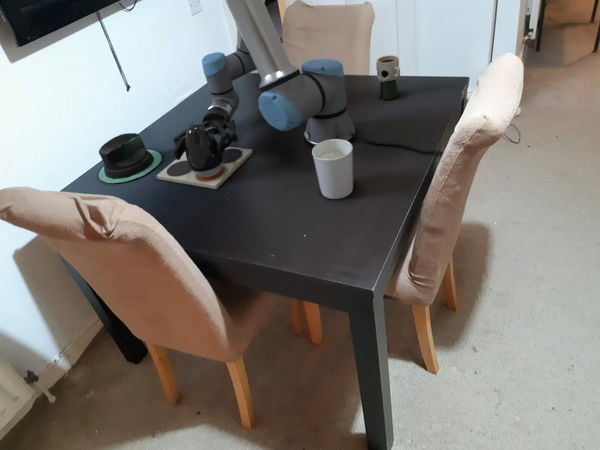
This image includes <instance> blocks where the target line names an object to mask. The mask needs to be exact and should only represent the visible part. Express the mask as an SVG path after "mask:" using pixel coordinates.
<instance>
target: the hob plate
mask: <svg viewBox="0 0 600 450" xmlns="http://www.w3.org/2000/svg"><path fill="white" fill-rule="evenodd" d="M253 154H254V152H253V149H252V148H251V149H250V148H242V147H234V146H229V147H228V148H226V149H225V151H224V153H223V156H224V160H223V167H222V169H221V171H220V172H219V173H218V174H216V175H214V176H212V177H207V178H204V177H199V176H197V175H196V174H194V172H193V171H192V170H191V169H190V168H189V166H188V163H187V158H186V152H185V151H184V153H183V155H182V156H181V158H180V160H177V159H175V160H173V161H172V162H171V163H169V164H168V165H167V166H166V167H165V168H164V169H162V170H161V171H160V172H158V174H156V175H155V177H156V179H157V180H162V181H168V182H173V183H177V184H184V185H191V186H197V187H200V188H201V187H202V188H206V189H212V190H217V189H219V187H221V185H222V184H223V183H224V182H225V181H227V179H228V178H230V177H231V175H232V174H233V173H234V172H235V171H237V169H238V168H240V166H241V165H242V164H244V162H245V161H246V160H248V158H250V156H251V155H253Z"/></svg>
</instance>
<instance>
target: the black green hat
mask: <svg viewBox="0 0 600 450" xmlns="http://www.w3.org/2000/svg"><path fill="white" fill-rule="evenodd" d="M98 155H99V156H100V158H101V160H102V163H103V164H104V166H103V167H102V168H101V169H100V170H99V172H98V178H99V180H100V181H102V182H104V183H107V184H117V183H125V182H128V181H129V182H130V181H132V180H135V179H137V178H141V177H142V176H143V177H144V176H145V175H146V174H147V173H149V172H151V171H152V170H153V169H155V168H157V166H159V164H160V163H161V162H162V155H161V153H160V152H159V151H156V150H153V149H147V147H146V145H145V143H144V141H143V139H142V137H141V135H140V134H139V133H137V132H128V133H122V134H119V135H116V136H114V137H112V138H111V139H109V140H108V141H106V142H105V143H104V144H103V145H102V146H101V147H99V150H98Z"/></svg>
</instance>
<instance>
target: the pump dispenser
mask: <svg viewBox="0 0 600 450" xmlns="http://www.w3.org/2000/svg"><path fill="white" fill-rule="evenodd" d="M191 124H192V125H191ZM191 124H190V125H191V126H190V125H189V126H188V127H189V128H188V127H187V128H188V129H187V128H186V129H187V132H186V138H185V151H184V152H186V158H187V163H188V166H189V168H190V169H191V170H192V171H193V172H194V174H196V175H197V176H199V177H204V178H207V177H212V176H214V175H216V174H218V173H219V172H220V171H221V169H222V167H223V160H224V156H223V155H222V156H221V157H219V155H218V151H217V146H218V144H219V142H218V141H217V139H216V137H215V136H214V135H212V134H211V133H210V132H211V131H213V130H214V127H213V126H211V127H209V128H206V127H205V126H203V125H201V123H194V124H193V123H191Z"/></svg>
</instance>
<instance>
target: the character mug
mask: <svg viewBox="0 0 600 450" xmlns="http://www.w3.org/2000/svg"><path fill="white" fill-rule="evenodd" d="M375 66H376V77H377V80H378V81H380V84H379V93H378V94H379V95H378V96H379V98H380V99H382V100H391V99H393V98H396V97H397V96H398V95H399V89H398V84H397V80H398V79H399V78H400V77H401V68H400V58H399V56H397V55H392V54H391V55H382V56H380V57H378V58H377V59H376V62H375Z"/></svg>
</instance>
